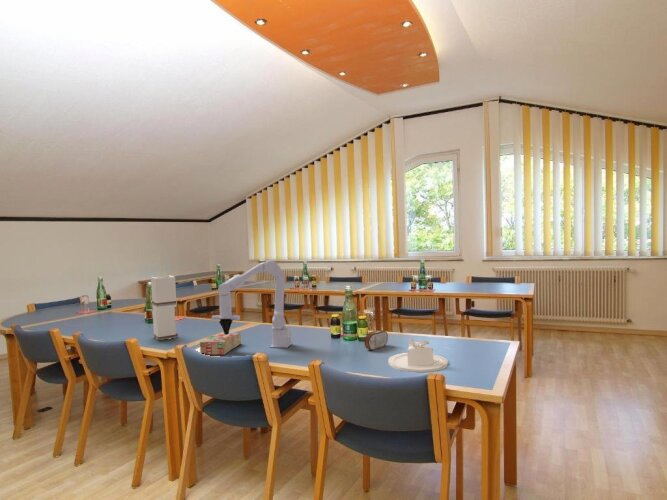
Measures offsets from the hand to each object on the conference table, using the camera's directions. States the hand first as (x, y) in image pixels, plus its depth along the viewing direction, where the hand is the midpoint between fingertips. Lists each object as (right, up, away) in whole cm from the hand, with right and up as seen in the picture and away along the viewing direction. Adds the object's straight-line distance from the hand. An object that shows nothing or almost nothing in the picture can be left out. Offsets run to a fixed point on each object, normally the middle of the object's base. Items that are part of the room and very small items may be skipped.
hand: (226, 334), depth 214 cm
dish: (+89, -7, -31) cm, 95 cm away
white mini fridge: (-43, -8, +32) cm, 54 cm away
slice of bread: (+75, -6, -7) cm, 75 cm away
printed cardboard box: (+3, -4, 0) cm, 5 cm away
